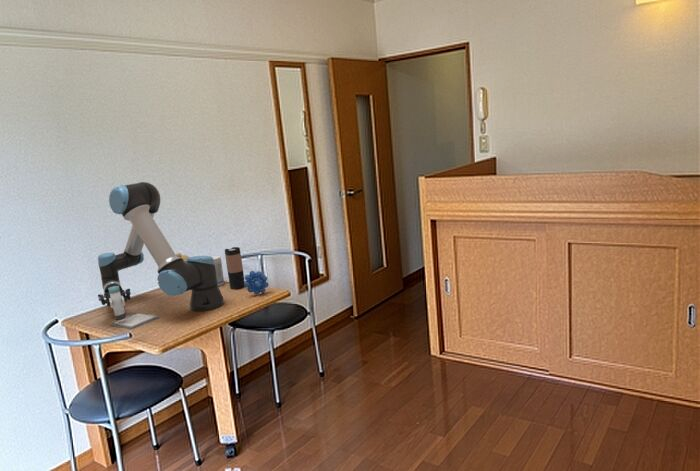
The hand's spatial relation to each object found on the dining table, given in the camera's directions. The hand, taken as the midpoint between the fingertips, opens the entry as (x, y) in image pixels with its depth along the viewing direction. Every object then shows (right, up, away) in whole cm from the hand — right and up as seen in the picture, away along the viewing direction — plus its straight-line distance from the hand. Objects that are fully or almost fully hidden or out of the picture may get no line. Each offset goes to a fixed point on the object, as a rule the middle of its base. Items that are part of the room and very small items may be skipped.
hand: (117, 303), depth 220 cm
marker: (-1, -7, +5) cm, 9 cm away
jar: (+9, +2, +58) cm, 59 cm away
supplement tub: (+27, +3, +53) cm, 60 cm away
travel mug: (+41, +2, +45) cm, 61 cm away
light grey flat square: (+4, -9, +8) cm, 12 cm away
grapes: (+54, 0, +28) cm, 61 cm away
